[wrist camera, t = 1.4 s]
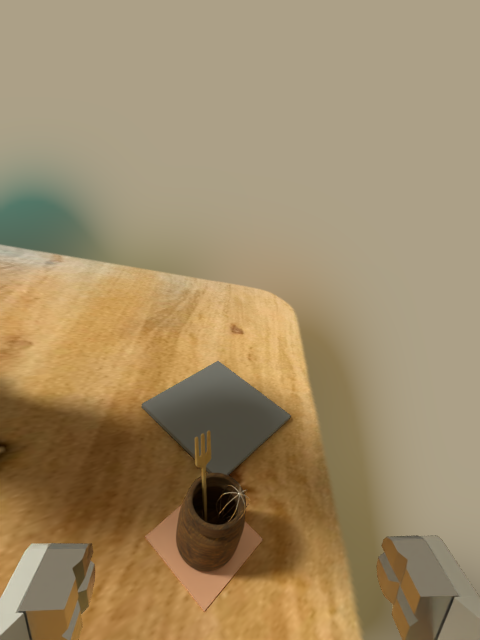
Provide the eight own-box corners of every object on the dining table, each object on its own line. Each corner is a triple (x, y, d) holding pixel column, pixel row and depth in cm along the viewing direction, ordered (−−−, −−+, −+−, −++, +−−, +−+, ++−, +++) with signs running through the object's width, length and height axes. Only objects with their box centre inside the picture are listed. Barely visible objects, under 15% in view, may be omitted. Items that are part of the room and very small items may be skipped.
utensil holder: (198, 591, 30) (219, 518, 24) (161, 528, 34) (170, 450, 27) (249, 547, 34) (280, 474, 27) (211, 494, 37) (229, 418, 31)
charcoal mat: (141, 407, 45) (141, 404, 45) (217, 363, 55) (217, 360, 55) (219, 483, 39) (220, 480, 38) (289, 418, 48) (291, 415, 48)
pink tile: (144, 537, 33) (144, 536, 33) (206, 483, 39) (206, 482, 39) (204, 612, 29) (204, 611, 29) (262, 540, 35) (263, 539, 35)
